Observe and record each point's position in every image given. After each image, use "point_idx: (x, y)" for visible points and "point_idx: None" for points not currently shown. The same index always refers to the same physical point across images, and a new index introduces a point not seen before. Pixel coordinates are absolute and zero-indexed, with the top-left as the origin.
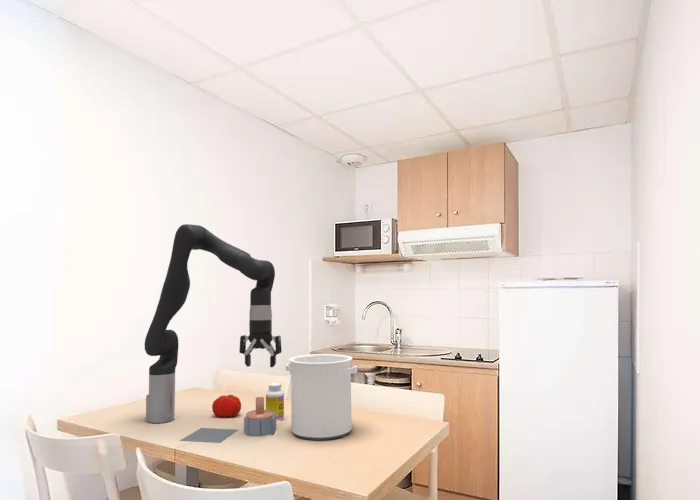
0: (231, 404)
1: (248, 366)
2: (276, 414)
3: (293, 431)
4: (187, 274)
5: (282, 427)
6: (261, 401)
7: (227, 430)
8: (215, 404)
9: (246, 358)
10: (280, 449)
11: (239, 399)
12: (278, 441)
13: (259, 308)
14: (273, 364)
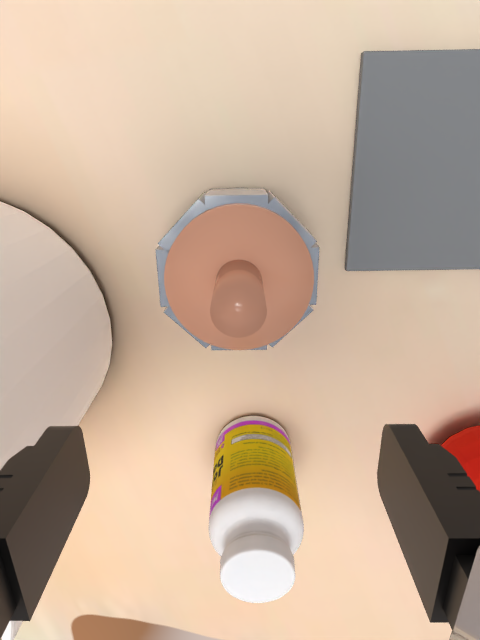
0: (471, 467)
1: (384, 427)
2: (233, 436)
3: (66, 246)
4: None
5: (176, 351)
6: (219, 286)
7: (397, 249)
8: None
9: (459, 497)
10: (40, 36)
11: None
12: (106, 157)
13: None
14: (24, 453)
